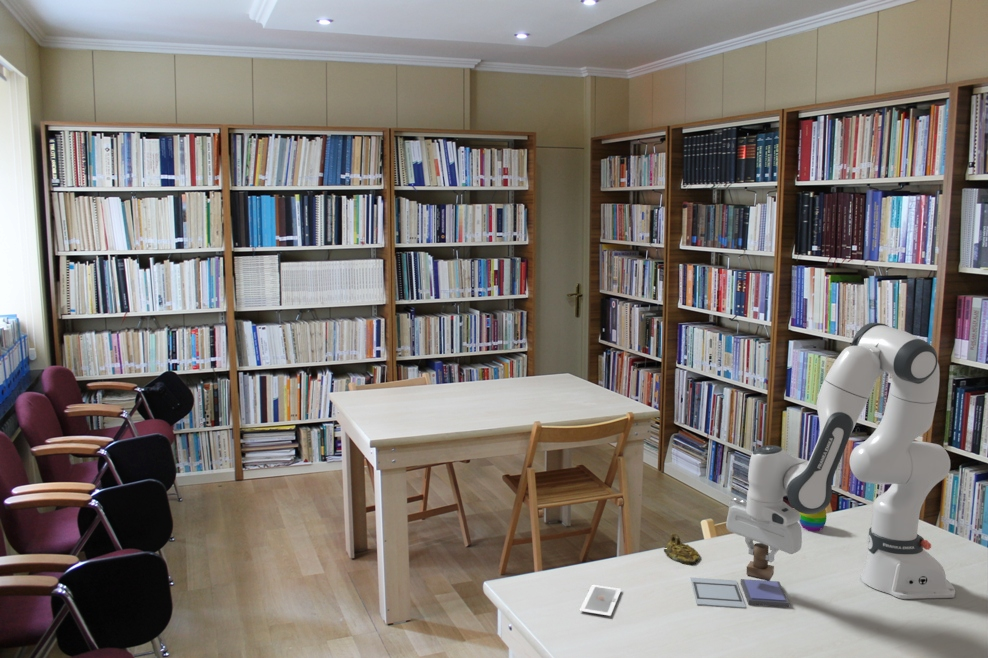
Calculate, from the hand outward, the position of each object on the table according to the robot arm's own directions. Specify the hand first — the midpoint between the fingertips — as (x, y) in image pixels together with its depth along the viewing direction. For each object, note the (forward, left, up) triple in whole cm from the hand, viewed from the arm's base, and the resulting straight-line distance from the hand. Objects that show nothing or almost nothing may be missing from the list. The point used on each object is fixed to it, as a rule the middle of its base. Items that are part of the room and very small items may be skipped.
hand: (761, 557), depth 211 cm
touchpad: (+41, +12, -10) cm, 44 cm away
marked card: (+11, +3, -9) cm, 15 cm away
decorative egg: (-25, -46, -9) cm, 53 cm away
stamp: (0, 0, -5) cm, 5 cm away
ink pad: (-1, +3, -9) cm, 9 cm away
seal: (+18, -20, -10) cm, 29 cm away
